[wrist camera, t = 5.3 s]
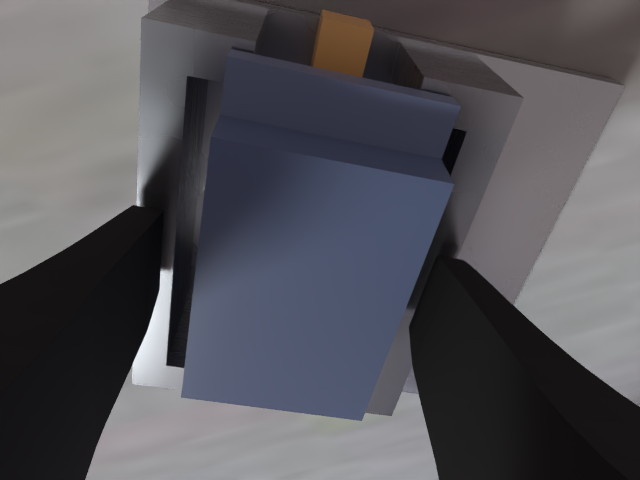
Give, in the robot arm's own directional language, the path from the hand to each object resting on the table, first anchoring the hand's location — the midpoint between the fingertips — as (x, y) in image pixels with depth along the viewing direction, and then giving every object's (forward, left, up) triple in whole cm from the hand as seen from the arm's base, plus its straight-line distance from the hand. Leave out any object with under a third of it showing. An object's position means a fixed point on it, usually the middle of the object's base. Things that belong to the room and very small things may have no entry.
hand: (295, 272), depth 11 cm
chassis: (-1, -1, -4) cm, 4 cm away
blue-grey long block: (0, 0, -3) cm, 3 cm away
